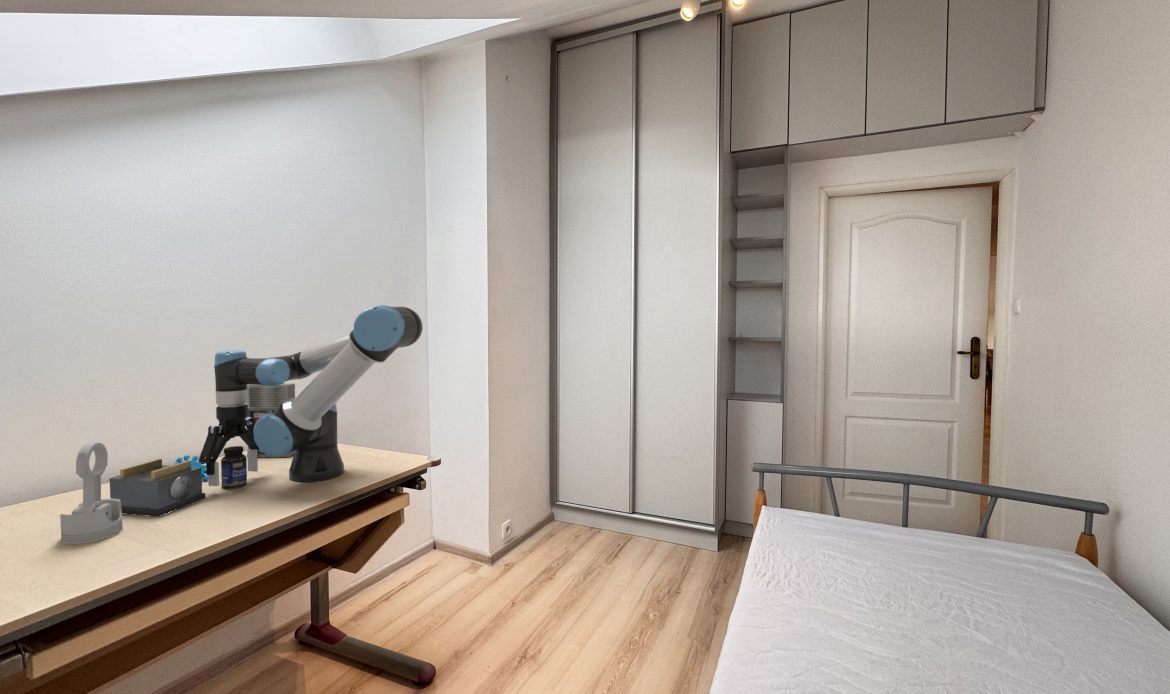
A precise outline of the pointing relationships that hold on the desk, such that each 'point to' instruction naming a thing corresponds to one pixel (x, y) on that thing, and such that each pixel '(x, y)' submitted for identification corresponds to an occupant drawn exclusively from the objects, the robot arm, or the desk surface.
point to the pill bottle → (233, 468)
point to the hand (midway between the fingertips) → (234, 478)
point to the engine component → (91, 502)
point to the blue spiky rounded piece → (195, 465)
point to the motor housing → (157, 487)
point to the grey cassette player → (268, 403)
